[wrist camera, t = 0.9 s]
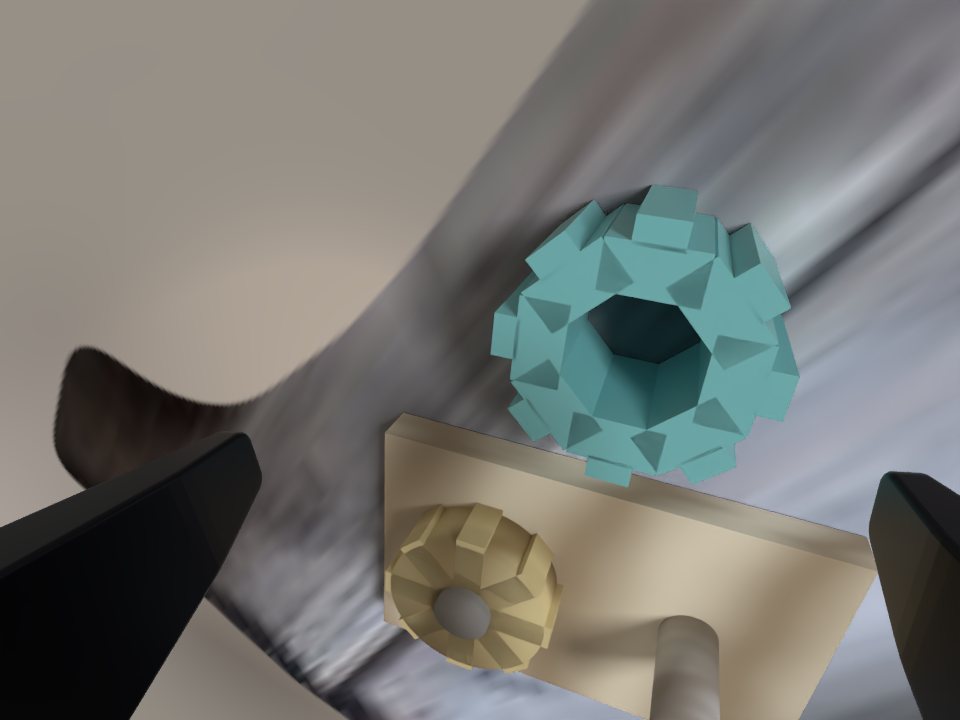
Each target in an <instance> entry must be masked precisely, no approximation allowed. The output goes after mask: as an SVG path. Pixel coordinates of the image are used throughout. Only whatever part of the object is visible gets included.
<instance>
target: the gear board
mask: <svg viewBox="0 0 960 720" xmlns="http://www.w3.org/2000/svg"><path fill="white" fill-rule="evenodd" d="M586 464H587V462H585V461H581V460H577V459H574V458H570V457H566V456H563V455H559V454H555V453H551V452H548V451H544V450H540V449H537V448H533V447H529V446H525V445H522V444H518V443H514V442H511V441H507V440H503V439H499V438H496V437H492V436H488V435H484V434H481V433H477V432H473V431H470V430H466V429H462V428H458V427H455V426H451V425H447V424H444V423H440V422H436V421H432V420H429V419H425V418H421V417H418V416H414V415H410V414H406V413H403V414H402V415H401V416H400V417H399V418H398V419H397V420H396V421H395V422H394V423H393V424H392V426H391V427H390V428H389V429H388V430H387V431H386V432H385V508H384V621H385V622H388V623H390V624H393V625H396V626H398V627H401V628H404V629H406V630H407V631H408V632H409V633H410V634H411V635H412V636H413V638H414V639H417V638H420V639H421V640H422V641H424V642H425V643H426V644H427V645H429V646H430V647H431V648H433V649H434V650H436V651H438V652H439V653H441V654H443V655H444V656H446V657H447V661H448V662H450V663H453V664H455V665H458V666H461V667H463V668H466V669H469V670H472V667H477V668H483V669H503V670H504V672H505V673H506V674H508V673H512V672H515V671H518V672H521V673H524V674H526V675H529V676H532V677H534V678H537V679H540V680H542V681H545V682H548V683H550V684H553V685H556V686H558V687H561V688H564V689H566V690H569V691H572V692H574V693H577V694H580V695H582V696H585V697H588V698H590V699H593V700H596V701H598V702H601V703H604V704H606V705H609V706H612V707H614V708H617V709H620V710H622V711H625V712H628V713H630V714H633V715H636V716H638V717H641V718H644V719H646V720H799V718H800V716H801V714H802V712H803V710H804V709H805V707H806V705H807V703H808V701H809V699H810V697H811V696H812V694H813V692H814V690H815V688H816V686H817V684H818V683H819V681H820V679H821V677H822V675H823V673H824V671H825V670H826V668H827V666H828V664H829V662H830V660H831V659H832V657H833V655H834V653H835V651H836V649H837V647H838V646H839V644H840V642H841V640H842V638H843V636H844V634H845V633H846V631H847V629H848V627H849V625H850V623H851V621H852V620H853V618H854V616H855V614H856V612H857V610H858V608H859V607H860V605H861V603H862V601H863V599H864V597H865V595H866V594H867V592H868V590H869V588H870V586H871V584H872V583H873V581H874V579H875V577H876V575H877V573H878V571H877V567H876V563H875V560H874V557H873V554H872V551H871V548H870V545H869V542H868V539H867V537H864V536H860V535H856V534H852V533H849V532H845V531H841V530H838V529H834V528H830V527H826V526H823V525H819V524H815V523H812V522H808V521H804V520H800V519H797V518H793V517H789V516H786V515H782V514H778V513H774V512H771V511H767V510H763V509H760V508H756V507H752V506H748V505H745V504H741V503H737V502H734V501H730V500H726V499H722V498H719V497H715V496H711V495H708V494H704V493H700V492H696V491H693V490H689V489H685V488H681V487H678V486H674V485H670V484H667V483H663V482H659V481H655V480H652V479H648V478H644V477H641V476H637V475H633V474H631V478H630V482H629V486H628V487H625V486H621V485H617V484H614V483H610V482H606V481H603V480H599V479H596V478H592V477H588V476H585V475H584V474H585V469H586Z"/></svg>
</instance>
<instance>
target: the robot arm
mask: <svg viewBox="0 0 960 720" xmlns="http://www.w3.org/2000/svg"><path fill="white" fill-rule="evenodd" d="M261 483H262V472H261V469H260V466H259V463H258V460H257V457H256V454H255V451H254V449H253V446H252V443H251V440H250V438H249V437H248V436H247V435H246V434H245V433H243V432H233V431H221V432H217V433H215V434H213V435H210V436H208V437H206V438H203V439H201V440H199V441H197V442H194V443H192V444H190V445H188V446H185V447H183V448H181V449H178V450H176V451H174V452H172V453H169V454H167V455H165V456H162V457H160V458H158V459H156V460H153V461H151V462H149V463H146V464H144V465H142V466H140V467H137V468H135V469H133V470H130V471H128V472H126V473H124V474H121V475H119V476H117V477H114V478H112V479H110V480H108V481H105V482H103V483H101V484H98V485H96V486H94V487H92V488H89V489H87V490H85V491H83V492H80V493H78V494H76V495H73V496H71V497H69V498H67V499H64V500H62V501H60V502H57V503H55V504H53V505H51V506H48V507H46V508H44V509H42V510H39V511H37V512H35V513H32V514H30V515H28V516H25V517H23V518H21V519H19V520H16V521H14V522H12V523H9V524H7V525H5V526H3V527H0V720H130V718H131V716H132V715H133V713H134V711H135V710H136V708H137V706H138V705H139V703H140V702H141V700H142V698H143V697H144V695H145V693H146V692H147V690H148V688H149V687H150V685H151V683H152V682H153V680H154V678H155V677H156V675H157V674H158V672H159V670H160V669H161V667H162V665H163V664H164V662H165V660H166V659H167V657H168V655H169V654H170V652H171V650H172V649H173V647H174V646H175V644H176V642H177V641H178V639H179V637H180V636H181V634H182V632H183V631H184V629H185V627H186V626H187V624H188V622H189V621H190V619H191V618H192V616H193V614H194V613H195V611H196V609H197V608H198V606H199V604H200V603H201V601H202V599H203V598H204V596H205V594H206V593H207V591H208V589H209V588H210V586H211V585H212V583H213V581H214V579H215V578H216V576H217V574H218V572H219V571H220V569H221V567H222V565H223V563H224V561H225V559H226V557H227V555H228V553H229V551H230V549H231V547H232V545H233V543H234V541H235V539H236V537H237V535H238V533H239V530H240V528H241V526H242V524H243V522H244V520H245V518H246V516H247V514H248V512H249V510H250V508H251V506H252V504H253V502H254V500H255V497H256V495H257V493H258V491H259V489H260V487H261ZM869 538H870V543H871V547H872V551H873V555H874V559H875V563H876V567H877V571H878V575H879V579H880V583H881V587H882V591H883V595H884V598H885V602H886V606H887V610H888V614H889V618H890V622H891V626H892V630H893V634H894V638H895V642H896V645H897V649H898V652H899V656H900V659H901V662H902V665H903V668H904V671H905V674H906V676H907V679H908V682H909V685H910V687H911V690H912V692H913V695H914V698H915V700H916V703H917V705H918V708H919V711H920V713H921V716H922V718H923V720H960V495H958V494H957V493H955V492H954V491H952V490H951V489H949V488H947V487H946V486H944V485H943V484H941V483H940V482H938V481H936V480H935V479H933V478H932V477H930V476H928V475H926V474H923V473H912V472H896V471H890V472H888V473H886V474H884V475H883V477H882V478H881V481H880V484H879V487H878V491H877V495H876V499H875V503H874V506H873V510H872V514H871V518H870V522H869Z"/></svg>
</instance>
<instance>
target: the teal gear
mask: <svg viewBox="0 0 960 720" xmlns="http://www.w3.org/2000/svg"><path fill="white" fill-rule="evenodd" d="M696 199H697V191H696V190H689V189H681V188H674V187H667V186H660V185H653V184H652V186H651V188H650V190H649V192H648V194H647V196H646V197H645V199H644V201H643V203H642V205H636V204H629V203H626V205H624V204H623V205H621V206H620V207H618V208H617V209H616V210H614V211H613V212H612V213H610V214H609V215H607V216H606V215H605V214H604V213H603V211H602V210H601V208H600V207H599V206H598V204H597V203H596V201H595V200H593V201H591V202H590V203H589V204H587V205H586V206H585V207H583V208H582V209H580V210H579V211H578V212H576V213H575V214H574V215H572V216H571V217H570V218H568V219H567V220H566V221H564V222H563V223H562V224H561V225H560V226H559V227H557V228H556V229H555V230H554V231H553V232H552V233H551V234H550V235H549V236H548V237H547V238H546V239H545V240H544V241H543V242H542V243H541V244H540V245H539V246H538V247H537V248H536V249H535V250H534V251H533V252H532V253H531V254H530V255H529V256H528V257H527V258H526V259H525V260H526V262H527V263H528V264H529V266H530V267H531V268H532V270H533V271H532V272H531V273H530V274H529V276H528V277H527V278H526V279H525V280H524V281H523V282H522V283H521V284H520V285H519V286H518V288H517V289H516V290H515V291H514V292H513V293H512V294H511V295H510V296H509V297H508V299H507V300H506V301H505V302H504V303H503V304H502V305H501V306H500V307H499V308H498V309H497V311H496V312H495V314H494V324H493V334H492V344H491V355H495V356H499V357H504V358H508V359H512V365H511V373H510V380H512V381H511V383H512V384H513V386H514V387H515V388H516V390H517V391H518V392H517V394H516V396H515V397H514V399H513V401H512V402H511V404H510V406H509V407H508V410H509V412H510V413H511V414H512V415H513V417H514V418H515V419H516V420H517V422H518V423H519V424H520V426H521V427H522V428H523V429H524V431H525V432H526V433H527V435H528V436H529V437H530V438H531V440H532V441H533V442H535V441H537V440H539V439H541V438H543V437H545V436H547V435H549V434H550V433H551V435H552V436H553V437H554V439H555V440H556V441H557V443H558V444H559V445H560V446H561V448H562V449H563V450H565V449H566V452H568V453H572V454H576V455H580V456H583V457H587V458H588V459H587V464H586V469H585V474H584V475H585V476H588V477H592V478H596V479H599V480H603V481H606V482H610V483H614V484H617V485H621V486H625V487H628V486H629V482H630V478H631V474H632V470H636V471H639V472H643V473H647V474H651V475H654V476H656V473H657V474H658V475H661V474H664V473H666V472H669V471H671V470H673V469H676V468H678V467H680V469H681V470H682V471H683V473H684V474H685V476H686V477H687V478H688V480H689V481H690V482H691V484H695V483H697V482H700V481H702V480H705V479H707V478H710V477H712V476H715V475H717V474H720V473H722V472H725V471H727V470H730V469H732V468H735V467H736V457H735V443H737V442H739V441H742V440H744V439H746V436H748V435H749V433H750V430H751V427H752V424H753V421H754V418H755V416H760V417H764V418H768V419H773V420H777V421H781V422H783V420H784V417H785V415H786V412H787V409H788V407H789V404H790V401H791V399H792V396H793V393H794V391H795V388H796V385H797V383H798V380H799V377H800V376H799V373H798V369H797V366H796V362H795V359H794V355H793V352H792V348H791V345H790V341H789V338H788V334H787V331H786V328H785V324H784V321H783V317H782V315H780V314H781V313H783V312H785V311H787V310H789V309H791V306H790V303H789V300H788V297H787V294H786V291H785V288H784V286H783V283H782V280H781V277H780V274H779V271H778V268H777V265H776V262H775V259H774V257H773V256H772V254H771V253H770V251H769V250H768V248H767V247H766V245H765V244H764V242H763V241H762V239H761V238H760V236H759V235H758V233H757V232H756V230H755V229H754V227H753V226H752V224H751V223H749V224H748V225H746V226H744V227H743V228H741V229H739V230H738V231H736V232H735V233H733V234H731V235H730V236H729V234H728V233H727V231H726V230H725V228H724V227H723V225H722V224H721V222H720V221H719V219H718V218H716V219H715V216H710V215H703V214H696V213H695V207H696ZM615 294H619V295H624V296H629V297H635V298H640V299H645V300H650V301H656V302H661V303H666V304H671V305H677V306H678V307H679V308H680V309H681V311H682V312H683V314H684V315H685V316H686V318H687V319H688V321H689V322H690V324H691V325H692V326H693V328H694V329H695V331H696V332H697V333H698V335H699V336H700V338H701V340H700V343H698V344H696V345H694V346H692V347H690V348H688V349H686V350H685V351H683V352H681V353H679V354H677V355H675V356H673V357H671V358H670V359H668V360H666V361H664V362H662V363H660V364H656V363H651V362H646V361H642V360H637V359H633V358H628V357H623V356H619V355H614V354H613V353H612V351H611V350H610V349H609V347H608V346H607V345H606V343H605V342H604V341H603V339H602V338H601V337H600V335H599V334H598V332H597V331H596V330H595V328H594V327H593V326H592V324H591V323H590V322H589V320H588V315H589V311H590V310H591V309H593V308H594V307H596V306H598V305H599V304H601V303H602V302H604V301H605V300H607V299H609V298H610V297H612V296H613V295H615Z"/></svg>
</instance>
